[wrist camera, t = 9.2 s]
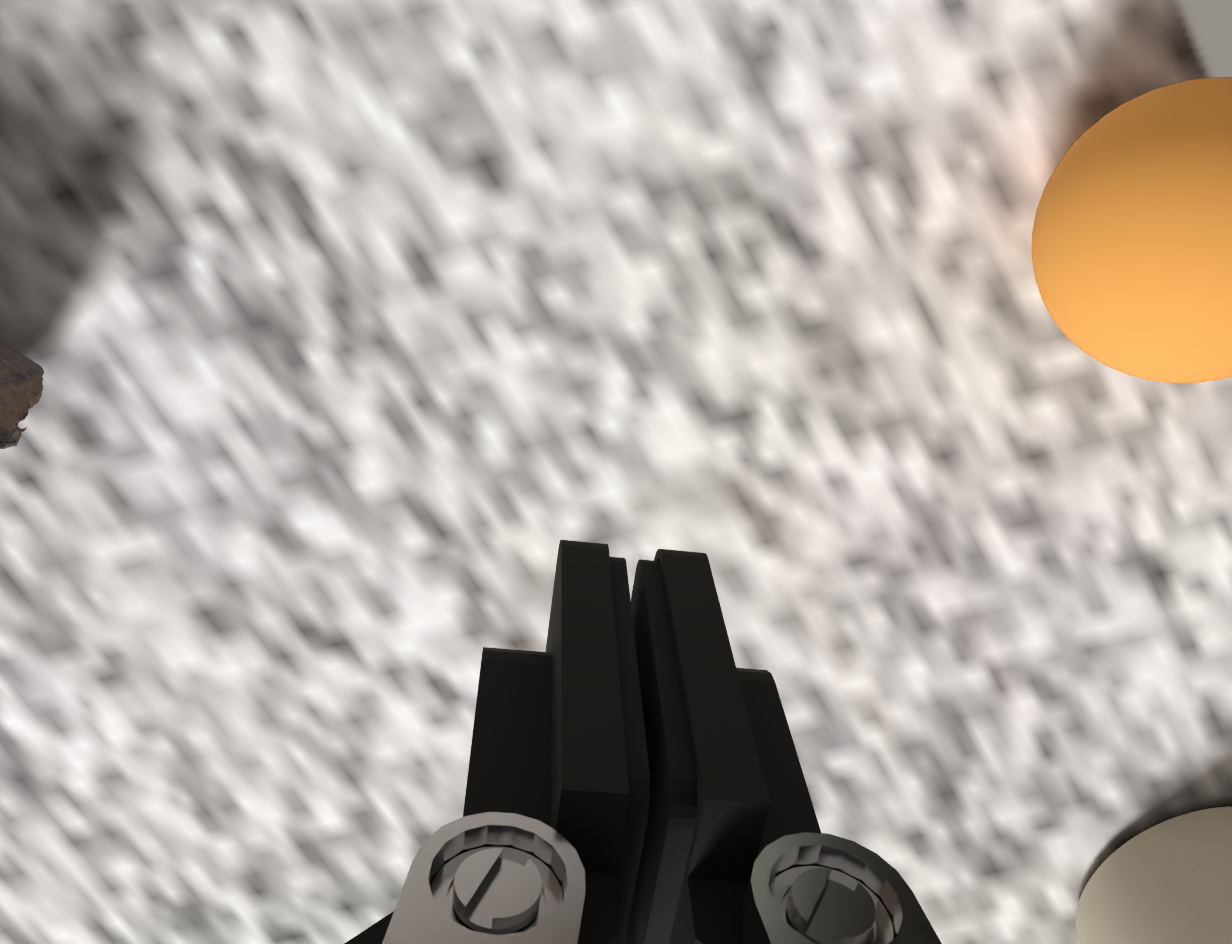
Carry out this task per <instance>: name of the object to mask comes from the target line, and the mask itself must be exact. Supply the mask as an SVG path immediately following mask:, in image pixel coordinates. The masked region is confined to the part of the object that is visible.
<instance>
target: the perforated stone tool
mask: <svg viewBox="0 0 1232 944" xmlns="http://www.w3.org/2000/svg"><path fill="white" fill-rule="evenodd" d="M43 374H44V371H43V368H42V367H41V366H39V365H38V364H36V363H34V362H33V361H32V360H30V359H28V358H26V357H24V356H22V355H21V354H19V353H17V352H15V351H14V350H12V349H10V348H9V347H7V346H6V345H4V344H2V343H0V449H5V448H8V447H11V446H16V445H17V443H18V441H19V439H20V437H21V432H24V430H25V429H26V428H25V429H20V428H19V427H18V423H19V422H20V421H22V420H24V419H25V418H26V416H27V415H28V410H29V409H30V408H32V407H33V406H34V405H35V404H37V403H38V401H39V399H40V398H41V395H42V390H43V385H42V381H43V377H42V376H43Z"/></svg>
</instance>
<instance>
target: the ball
mask: <svg viewBox="0 0 1232 944" xmlns="http://www.w3.org/2000/svg"><path fill="white" fill-rule="evenodd" d="M1032 261H1033V268H1034V275H1035V279H1036V283H1037V286H1038V289H1039V292H1040V294H1041V297H1042V300H1043V302H1044V304H1045V306H1046V308H1047V310H1048V312H1049V313H1050V315H1051V317H1052V318H1053V320H1054V321H1055V322H1056V324H1057V325H1058V326H1059V328H1060V329H1061V330H1062V331H1063V333H1064V334H1065V335H1066V336H1067V337H1068V338H1069V339H1070V340H1071V341H1072V342H1073V343H1074V344H1075V345H1076V346H1077V347H1079V348H1080V349H1081V350H1082V351H1084V352H1085V353H1087V354H1088V355H1090V356H1091V357H1093V358H1094V359H1096V360H1097V361H1099V362H1101V363H1103V364H1104V365H1106V366H1108V367H1110V368H1113V369H1115V370H1118V371H1120V372H1123V373H1125V374H1128V375H1131V376H1135V377H1139V378H1144V379H1148V380H1153V381H1159V382H1170V383H1199V382H1207V381H1213V380H1219V379H1225V378H1231V377H1232V78H1231V77H1226V78H1225V77H1224V78H1201V79H1195V80H1189V81H1183V82H1178V83H1175V84H1171V85H1167V86H1164V87H1161V88H1158V89H1155V90H1151V91H1149V92H1147V93H1145V94H1143V95H1141V96H1138V97H1136V98H1134V99H1132V100H1130V101H1128V102H1126V103H1124V104H1122V105H1121V106H1119V107H1117V108H1116V109H1114V110H1113V111H1111V112H1110V113H1108V114H1106V115H1105V116H1104V117H1103V118H1101V119H1100V120H1099V121H1098V122H1097V123H1095V124H1094V125H1093V126H1092V127H1091V128H1089V129H1088V130H1087V131H1086V132H1085V133H1084V134H1082V136H1081V137H1080V138H1079V139H1078V140H1077V141H1076V142H1075V143H1074V144H1073V145H1072V146H1071V147H1070V149H1069V150H1068V151H1067V153H1066V154H1065V155H1064V157H1063V158H1062V160H1061V161H1060V162H1059V164H1058V165H1057V167H1056V168H1055V170H1054V171H1053V173H1052V175H1051V177H1050V179H1049V181H1048V183H1047V184H1046V186H1045V189H1044V191H1043V194H1042V197H1041V200H1040V202H1039V205H1038V208H1037V211H1036V216H1035V221H1034V226H1033V232H1032Z"/></svg>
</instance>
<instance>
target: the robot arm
mask: <svg viewBox="0 0 1232 944" xmlns="http://www.w3.org/2000/svg"><path fill="white" fill-rule="evenodd" d="M345 944H941V942H940V940H939V938H938V936H937V935H936V933H935V931H934V929H933V928H932V926H931V924H930V922H929V920H928V919H927V917H926V915H925V913H924V911H923V910H922V908H921V906H920V904H919V903H918V901H917V899H916V897H915V895H914V894H913V892H912V890H911V889H910V888H909V886H908V885H907V884H906V882H905V881H904V880H903V878H902V877H901V876H900V874H899V873H898V872H897V870H895V869H894V868H893V867H892V866H891V865H889V864H888V863H887V862H886V861H885V860H883V859H882V858H881V857H880V856H879V855H878V854H876V853H874V852H872V851H870V850H869V849H867V848H865V847H863V846H861V845H859V844H857V843H856V842H854V841H851V840H847V839H844V838H841V837H837V836H834V835H831V834H823V833H821V831H820V828H819V824H818V821H817V818H816V815H815V811H814V808H813V805H812V801H811V798H810V795H809V792H808V788H807V785H806V782H805V779H804V775H803V772H802V769H801V766H800V762H799V759H798V756H797V753H796V749H795V746H794V743H793V739H792V736H791V733H790V730H789V726H788V723H787V720H786V717H785V713H784V710H783V707H782V704H781V700H780V697H779V694H778V691H777V687H776V684H775V681H774V679H773V677H772V675H771V673H770V672H768V671H767V670H757V669H744V668H736V666H735V662H734V658H733V654H732V650H731V646H730V643H729V639H728V635H727V631H726V627H725V623H724V619H723V615H722V611H721V607H720V603H719V600H718V596H717V592H716V588H715V584H714V580H713V576H712V572H711V568H710V564H709V560H708V557H707V555H706V554H705V553H697V552H687V551H676V550H665V549H658V550H657V552H656V555H655V559H654V561H649V560H639V561H638V564H637V568H636V573H635V579H634V585H633V591H632V597H631V602H630V593H629V584H628V575H627V566H626V560H625V558H616V557H609V548H608V544H600V543H589V542H578V541H568V540H560V544H559V550H558V557H557V565H556V573H555V581H554V589H553V597H552V605H551V613H550V621H549V629H548V637H547V645H546V652H535V651H523V650H510V649H498V648H486V647H483V653H482V661H481V669H480V678H479V686H478V695H477V703H476V712H475V720H474V729H473V737H472V746H471V754H470V762H469V771H468V779H467V788H466V796H465V805H464V813H463V817H462V818H460V819H458V820H455V821H453V822H451V823H449V824H446V825H444V826H442V827H441V828H440V829H439V830H437V831H436V832H435V833H434V834H433V835H431V836H430V837H429V838H428V839H427V840H426V841H424V843H423V845H422V846H421V848H420V850H419V851H418V853H417V855H416V856H415V858H414V860H413V861H412V864H411V867H410V870H409V872H408V875H407V878H406V880H405V883H404V886H403V889H402V891H401V894H400V897H399V899H398V902H397V905H396V907H395V910H394V911H393V912H392V913H390V914H389V915H387V916H386V917H384V918H383V919H381V920H380V921H378V922H377V923H375V924H374V925H372V926H371V927H369V928H368V929H366V930H365V931H363V932H362V933H360V934H359V935H357V936H356V937H354V938H353V939H351V940H349V941H348V942H346V943H345Z"/></svg>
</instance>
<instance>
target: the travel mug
mask: <svg viewBox="0 0 1232 944" xmlns="http://www.w3.org/2000/svg"><path fill="white" fill-rule="evenodd" d="M1075 924H1076V932H1077V936H1078V940H1079V942H1080V944H1232V807H1218V808H1210V809H1204V810H1199V811H1195V812H1191V813H1187V814H1184V815H1181V816H1177V817H1174V818H1172V819H1169V820H1167V821H1164V822H1162V823H1160V824H1157V825H1155V826H1153V827H1151V828H1149V829H1147V830H1145V831H1144V832H1142V833H1140V834H1138V835H1137V836H1135V837H1134V838H1132V839H1130V840H1129V841H1128V842H1126V843H1125V844H1123V845H1122V846H1121V847H1119V848H1118V849H1117V850H1116V851H1115V852H1114V853H1112V854H1111V855H1110V856H1109V857H1108V858H1107V859H1106V860H1105V861H1104V862H1103V863H1102V864H1101V865H1100V867H1099V868H1098V869H1097V870H1096V871H1095V873H1094V874H1093V875H1092V877H1091V878H1090V880H1089V881H1088V883H1087V885H1086V886H1085V888H1084V890H1083V892H1082V895H1081V897H1080V900H1079V903H1078V906H1077V911H1076V923H1075Z"/></svg>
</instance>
